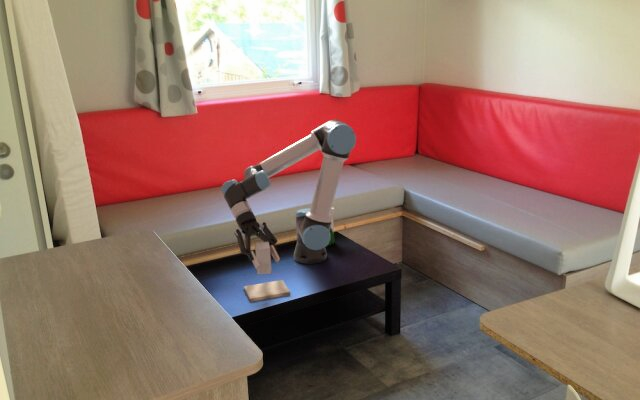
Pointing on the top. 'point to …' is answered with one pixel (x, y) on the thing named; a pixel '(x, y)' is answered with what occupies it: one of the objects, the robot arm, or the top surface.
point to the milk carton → (331, 228)
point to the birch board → (266, 290)
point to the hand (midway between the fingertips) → (268, 263)
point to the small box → (263, 257)
